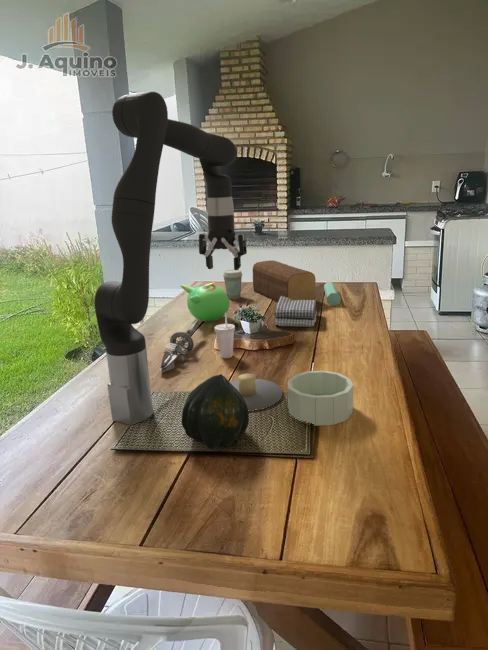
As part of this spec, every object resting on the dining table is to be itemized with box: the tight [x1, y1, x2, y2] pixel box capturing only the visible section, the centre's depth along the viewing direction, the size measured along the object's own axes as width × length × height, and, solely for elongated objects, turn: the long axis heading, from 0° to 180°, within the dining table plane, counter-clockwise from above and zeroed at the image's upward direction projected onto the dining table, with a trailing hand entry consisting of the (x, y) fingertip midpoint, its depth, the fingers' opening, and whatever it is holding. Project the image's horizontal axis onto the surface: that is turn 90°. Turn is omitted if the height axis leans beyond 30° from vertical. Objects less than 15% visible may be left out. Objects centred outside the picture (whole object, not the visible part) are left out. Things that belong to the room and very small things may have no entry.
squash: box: [180, 373, 250, 450], centre depth 112 cm, size 14×15×15 cm
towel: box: [274, 296, 318, 328], centre depth 192 cm, size 15×18×8 cm
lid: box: [229, 373, 283, 410], centre depth 133 cm, size 18×18×6 cm
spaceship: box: [159, 319, 201, 373], centre depth 163 cm, size 8×35×8 cm
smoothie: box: [214, 312, 236, 359], centre depth 159 cm, size 6×6×14 cm
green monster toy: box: [180, 281, 230, 322], centre depth 197 cm, size 18×17×15 cm
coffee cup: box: [222, 269, 243, 300], centre depth 228 cm, size 8×9×12 cm
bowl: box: [287, 370, 354, 427], centre depth 123 cm, size 15×15×7 cm
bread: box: [252, 260, 317, 303], centre depth 225 cm, size 14×34×14 cm, turn 24°
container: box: [323, 281, 342, 307], centre depth 221 cm, size 6×6×25 cm
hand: (223, 269), depth 152 cm, fingers open, 8 cm apart
